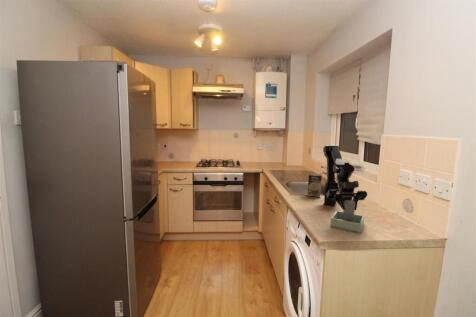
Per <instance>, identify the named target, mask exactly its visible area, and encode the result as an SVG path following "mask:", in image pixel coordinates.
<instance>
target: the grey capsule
mask: <svg viewBox="0 0 476 317" xmlns="http://www.w3.org/2000/svg"><path fill="white" fill-rule="evenodd" d="M343 204H344V210H343V211H342V212H343V220H345V221H350V222H354V214H355V212H356V210H355V202H354V201H350V200H345V201H344V202H343Z"/></svg>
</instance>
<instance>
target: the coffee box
mask: <svg viewBox="0 0 476 317" xmlns="http://www.w3.org/2000/svg"><path fill="white" fill-rule="evenodd" d="M322 176H323V175H322V174H319V173H308V181H307V182H308V183H307V194H306V196H307V195H308V196H307V197H309V196H315V197H314V198H318V197H320V198H321V193H322V192H321V191H322V190H321V189H322V188H321V187H322Z"/></svg>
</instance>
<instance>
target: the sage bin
mask: <svg viewBox="0 0 476 317" xmlns="http://www.w3.org/2000/svg"><path fill="white" fill-rule="evenodd" d="M364 224H365V215H363V214H362V215H361V214H356V213H354V222H350V221H345V220H343V211H341V210H335V212H334V214H332V216H331V218H330V228H334V229H340V230H344V231H347V232H352V233H355V234H362V232H363V228H364Z"/></svg>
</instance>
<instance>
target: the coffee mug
mask: <svg viewBox="0 0 476 317" xmlns="http://www.w3.org/2000/svg"><path fill="white" fill-rule="evenodd" d="M352 193H355V190H354V191H352ZM342 200H343V203H344V201H345V200H350V201H352V200H353V197H349V196H342Z"/></svg>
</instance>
